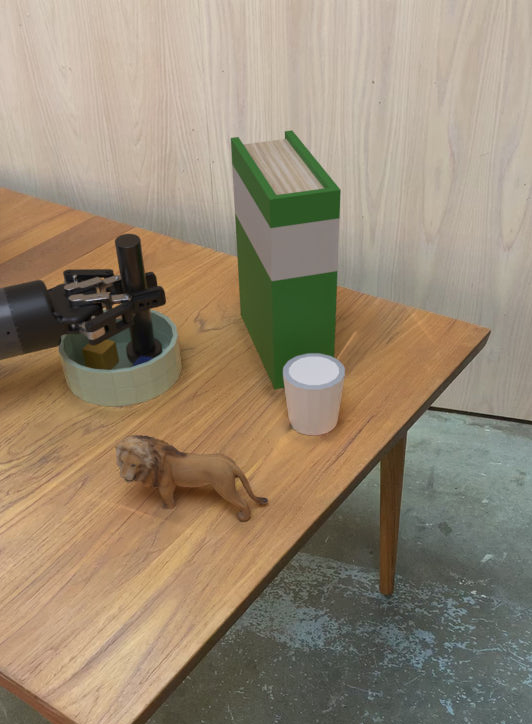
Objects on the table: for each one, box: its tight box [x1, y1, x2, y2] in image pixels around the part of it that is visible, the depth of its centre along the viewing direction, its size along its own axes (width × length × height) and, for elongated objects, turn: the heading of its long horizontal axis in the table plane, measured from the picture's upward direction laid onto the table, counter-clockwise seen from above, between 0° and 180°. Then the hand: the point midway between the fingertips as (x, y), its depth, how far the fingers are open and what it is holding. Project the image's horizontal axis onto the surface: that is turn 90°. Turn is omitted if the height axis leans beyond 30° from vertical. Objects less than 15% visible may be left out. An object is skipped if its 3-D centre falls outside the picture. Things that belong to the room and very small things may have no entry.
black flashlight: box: [114, 233, 163, 364], centre depth 91 cm, size 4×4×16 cm
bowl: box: [57, 308, 183, 408], centre depth 96 cm, size 14×14×6 cm
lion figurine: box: [114, 434, 269, 522], centre depth 77 cm, size 15×5×9 cm, turn 90°
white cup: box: [283, 353, 346, 436], centre depth 88 cm, size 7×7×7 cm
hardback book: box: [230, 129, 342, 390], centre depth 92 cm, size 18×7×24 cm, turn 15°
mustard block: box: [82, 340, 119, 370], centre depth 97 cm, size 3×3×3 cm
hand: (159, 287), depth 91 cm, fingers closed on black flashlight, 3 cm apart
